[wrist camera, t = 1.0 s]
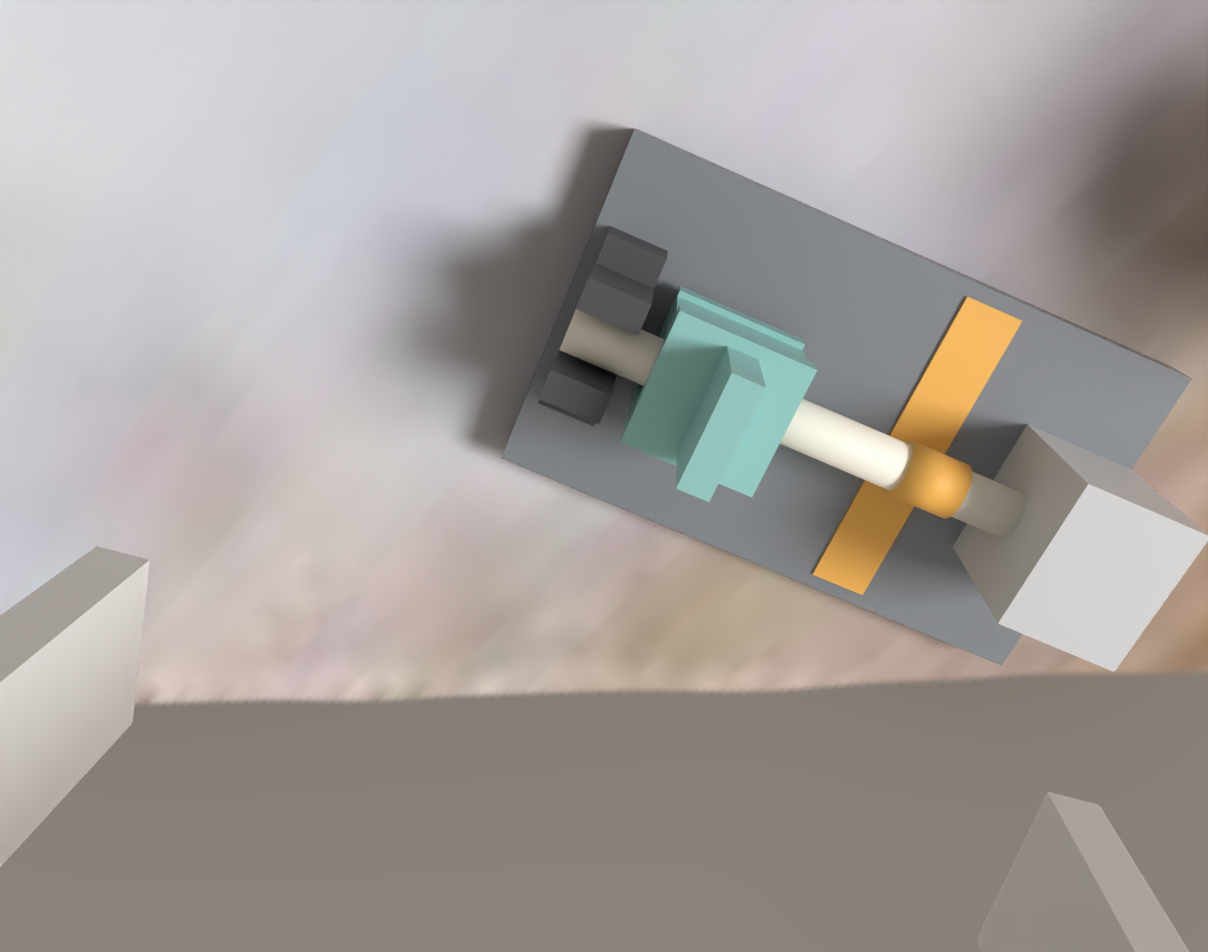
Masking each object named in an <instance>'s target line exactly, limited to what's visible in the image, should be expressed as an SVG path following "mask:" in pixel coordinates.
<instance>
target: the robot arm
mask: <svg viewBox="0 0 1208 952" xmlns="http://www.w3.org/2000/svg"><path fill="white" fill-rule="evenodd" d="M149 562H150V560H148V559H144V558H140V557H136V556H132V555H128V554H124V553H120V552H117V551H113V550H109V549H105V548H101V547H97V546H96V547H95V548H94V549H92V550H91V551H90V552H88V553H87V554H85V555H84V556H83V557H81V558H80V559H78V560H77V561H76V562H74V563H73V564H71V565H70V566H69V567H67V568H66V569H65V570H63V571H62V572H60V573H59V574H58V575H56V576H55V577H53V578H52V579H51V580H49V581H48V582H46V583H45V584H44V585H42V586H41V587H40V588H38V589H37V590H35V591H34V592H33V593H31V594H30V595H28V596H27V597H26V598H24V599H23V600H22V601H20V602H19V603H17V604H16V605H15V606H13V607H12V608H10V609H9V610H8V611H6V612H5V613H3V614H2V615H1V616H0V867H1V866H2V864H3V863H4V862H5V861H6V860H7V859H8V858H9V857H10V856H11V854H12V853H13V852H14V851H15V850H16V849H17V848H18V847H19V846H20V845H21V844H22V843H23V841H24V840H25V839H26V838H27V837H28V836H29V835H30V834H31V833H32V832H33V831H34V829H35V828H36V827H37V826H38V825H39V824H40V823H41V822H42V821H43V820H44V819H45V818H46V816H47V815H48V814H49V813H50V812H51V811H52V810H53V809H54V808H55V806H57V804H58V803H59V802H60V801H61V800H62V799H63V798H64V797H65V796H66V795H67V794H68V793H69V791H70V790H71V789H72V788H73V787H74V786H75V785H76V784H77V783H78V782H79V781H80V779H81V778H82V777H83V776H84V775H85V774H86V773H87V772H88V771H89V770H90V769H91V767H92V766H93V765H94V764H95V763H96V762H97V761H98V760H99V759H100V758H101V757H102V755H103V754H104V753H105V752H106V751H107V750H108V749H109V748H110V747H111V746H112V744H114V742H115V741H116V740H117V739H118V738H119V737H120V736H121V734H123V733H124V731H125V730H126V729H127V728H128V727H129V726H130V725H131V724H132V722H133V712H134V703H135V694H136V684H137V675H138V665H139V656H140V647H141V637H142V628H143V618H144V609H145V600H146V590H147V581H148V571H149ZM977 941H978V943H979V946H980V949H981V952H1189V951H1188V949H1187V948H1186V946H1185V944H1184V943H1183V941H1182V939H1181V938H1180V936H1179V934H1178V933H1177V931H1176V930H1175V928H1174V926H1173V925H1172V923H1171V921H1170V920H1169V918H1168V917H1167V915H1166V913H1165V912H1164V910H1163V909H1162V907H1161V905H1160V903H1159V902H1158V900H1157V899H1156V897H1155V895H1154V894H1153V892H1152V890H1151V889H1150V887H1149V886H1148V884H1147V882H1146V881H1145V879H1144V878H1143V876H1142V874H1141V872H1140V871H1139V869H1138V868H1137V866H1136V864H1135V863H1134V861H1133V860H1132V858H1131V856H1130V855H1129V853H1128V851H1127V850H1126V848H1125V847H1124V845H1123V843H1122V842H1121V840H1120V838H1119V837H1118V835H1117V833H1116V832H1115V830H1114V829H1113V827H1112V825H1111V824H1110V822H1109V820H1108V819H1107V817H1106V815H1105V814H1104V812H1103V811H1102V809H1101V807H1100V806H1099V805H1097V804H1093V803H1089V802H1085V801H1082V800H1077V799H1074V798H1069V797H1066V796H1062V795H1058V794H1054V793H1051V792H1047V794H1046V796H1045V798H1044V800H1043V802H1042V804H1041V806H1040V808H1039V811H1038V812H1037V815H1036V817H1035V819H1034V821H1033V823H1032V825H1031V827H1030V829H1029V831H1028V833H1027V836H1026V837H1025V840H1024V842H1023V844H1022V846H1021V848H1020V850H1019V852H1018V854H1017V856H1016V859H1015V860H1014V863H1013V865H1012V867H1011V869H1010V871H1009V873H1008V875H1007V877H1006V879H1005V881H1004V883H1003V886H1002V888H1001V890H1000V892H999V894H998V896H997V898H996V900H995V902H994V904H993V906H992V909H991V911H990V913H989V915H988V917H987V919H986V921H985V923H984V926H983V927H982V929H981V931H980V934H979V936H978V938H977Z"/></svg>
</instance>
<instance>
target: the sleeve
mask: <svg viewBox="0 0 1208 952" xmlns="http://www.w3.org/2000/svg"><path fill="white" fill-rule="evenodd" d="M658 337H660V338H663V339H664V341H663V344H662V346H661V348H660V350H659V353H658V355H657V357H656V359H655V361H654V364H653V366H652V368H651V370H650V373H649V375H648V377H647V379H646V382H645V384H644V386H643V385H640V384H638V383H637V384H636V386H635V388H634V390H633V393H632V395H631V397H630V399H629V402H628V404H627V409H626V412H627V417H626V422H625V428H624V430H623V433H622V436H621V443H623V444H626V445H628V446H630V447H633V448H635V449H637V450H640V451H642V452H645V453H647V454H649V455H652V456H654V457H656V458H659V459H661V460H664V461H666V462H668V463H671V464H673V465H676V466H677V472H676V489H678V490H681V491H683V492H686V493H688V494H690V495H693V496H695V497H698V498H700V499H702V500H705V501H707V502H710V500H711V498H712V496H713V494H714V492H715V490H716V488H717V486H718V484H721V485H723V486H726V487H728V488H730V489H733V490H735V491H737V492H740V493H742V494H745V495H747V496H749V497H752V496H753V495H754V493H755V491H756V489H757V487H758V485H759V483H760V481H761V479H762V477H763V475H764V473H765V471H766V469H767V467H768V465H769V463H770V461H771V460H772V458H773V456H774V454H775V452H776V450H777V448H778V446H779V444H780V442H781V440H782V438H783V436H784V434H785V432H786V430H787V428H788V426H789V425H790V423H791V421H792V419H793V417H794V415H795V413H796V411H797V409H798V407H799V405H800V403H801V401H802V399H803V397H804V395H805V393H806V391H807V390H808V388H809V386H810V384H811V382H812V380H813V378H814V376H815V374H816V372H817V368H816V366H815V364H814V363H812V362H810V361H807V359H806V357H805V355H804V353H803V348H804V346H805V343H804V341H803V339H801V338H799V337H797V336H794V335H792V334H790V333H787V332H785V331H783V330H781V329H778V328H776V327H774V326H771V325H769V324H767V323H764V322H762V321H760V320H758V319H755V318H753V317H751V316H748V315H746V314H744V313H741V312H739V311H737V310H734V309H732V308H730V307H728V306H725V305H723V304H721V303H718V302H716V301H714V300H711V299H709V298H707V297H705V296H702V295H700V294H698V293H695V292H693V291H691V290H688V289H686V288H684V287H682V286H680V287H679V290H678V292H677V294H676V296H675V299H674V301H673V303H672V305H671V307H670V310H669V312H668V314H667V316H666V319H665V321H664V323H663V325H662V328H661V330H660V332H659V334H658Z"/></svg>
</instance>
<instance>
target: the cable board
mask: <svg viewBox="0 0 1208 952" xmlns="http://www.w3.org/2000/svg"><path fill="white" fill-rule="evenodd" d="M680 286H682V287H684V288H686V289H688V290H691V291H693V292H695V293H698V294H700V295H702V296H705V297H707V298H709V299H711V300H714V301H716V302H718V303H721V304H723V305H725V306H728V307H730V308H732V309H734V310H737V311H739V312H741V313H744V314H746V315H748V316H751V317H753V318H755V319H758V320H760V321H762V322H764V323H767V324H769V325H771V326H774V327H776V328H778V329H781V330H783V331H785V332H787V333H790V334H792V335H794V336H797V337H799V338H801V339H803V341H804V343H805V346H804V348H803V353H804V355H805V357H806V359H807V361H810V362H812V363H814V364H815V366H816V368H817V372H816V374H815V376H814V378H813V380H812V382H811V384H810V386H809V388H808V390H807V391H806V393H805V395H804V397H803V399H802V401H801V403H800V405H799V407H798V409H797V411H796V413H795V415H794V417H793V419H792V421H791V423H790V425H789V426H788V428H787V430H786V432H785V434H784V436H783V438H782V440H781V442H780V444H779V446H778V448H777V450H776V452H775V454H774V456H773V458H772V460H771V461H770V463H769V465H768V467H767V469H766V471H765V473H764V475H763V477H762V479H761V481H760V483H759V485H758V487H757V489H756V491H755V493H754V495H753V496H752V497H749V496H747V495H745V494H742V493H740V492H737V491H735V490H733V489H730V488H728V487H726V486H723V485H721V484H718V486H717V488H716V490H715V492H714V494H713V496H712V498H711V500H710V502H707V501H705V500H702V499H700V498H698V497H695V496H693V495H690V494H688V493H686V492H683V491H681V490H678V489H676V472H677V466H676V465H673V464H671V463H668V462H666V461H664V460H661V459H659V458H656V457H654V456H652V455H649V454H647V453H645V452H642V451H640V450H637V449H635V448H633V447H630V446H628V445H626V444H623V443H621V436H622V433H623V430H624V428H625V422H626V417H627V412H626V409H627V404H628V402H629V399H630V397H631V395H632V393H633V390H634V388H635V386H636V384H637V383H638V384H640V385H643V386H644V384H645V382H646V379H647V377H648V375H649V373H650V370H651V368H652V366H653V364H654V361H655V359H656V357H657V355H658V353H659V350H660V348H661V346H662V344H663V341H664V339H663V338H660V337H658V334H659V332H660V330H661V328H662V325H663V323H664V321H665V319H666V316H667V314H668V312H669V310H670V307H671V305H672V303H673V301H674V299H675V296H676V294H677V292H678V290H679V287H680ZM1191 379H1192V378H1190V377H1188V376H1186V375H1185V374H1183V373H1181V372H1179V371H1178V370H1176V369H1174V368H1172V367H1170V366H1168V365H1166V364H1164V363H1161V362H1159V361H1157V360H1155V359H1152V358H1150V357H1148V356H1146V355H1143V354H1141V353H1139V352H1137V351H1134V350H1132V349H1130V348H1128V347H1125V346H1123V345H1121V344H1119V343H1116V342H1114V341H1112V340H1110V339H1107V338H1105V337H1103V336H1101V335H1098V334H1096V333H1094V332H1092V331H1089V330H1087V329H1085V328H1083V327H1080V326H1078V325H1076V324H1074V323H1071V322H1069V321H1067V320H1065V319H1062V318H1060V317H1058V316H1056V315H1053V314H1051V313H1049V312H1047V311H1044V310H1042V309H1040V308H1038V307H1035V306H1033V305H1031V304H1029V303H1026V302H1024V301H1022V300H1020V299H1017V298H1015V297H1013V296H1011V295H1008V294H1006V293H1004V292H1002V291H1000V290H997V289H995V288H993V287H991V286H988V285H986V284H984V283H982V282H979V281H977V280H975V279H973V278H970V277H968V276H966V275H964V274H961V273H959V272H957V271H955V270H952V269H950V268H948V267H946V266H943V265H941V264H939V263H937V262H934V261H932V260H930V259H928V258H925V257H923V256H921V255H919V254H916V253H914V252H912V251H910V250H907V249H905V248H903V247H901V246H898V245H896V244H894V243H892V242H889V241H887V240H885V239H883V238H880V237H878V236H876V235H874V234H871V233H869V232H867V231H865V230H862V229H860V228H858V227H856V226H853V225H851V224H849V223H847V222H844V221H842V220H840V219H838V218H835V217H833V216H831V215H829V214H826V213H824V212H822V211H820V210H817V209H815V208H813V207H811V206H808V205H806V204H804V203H802V202H799V201H797V200H795V199H793V198H790V197H788V196H786V195H784V194H781V193H779V192H777V191H775V190H772V189H770V188H768V187H766V186H763V185H761V184H759V183H757V182H754V181H752V180H750V179H748V178H745V177H743V176H741V175H739V174H736V173H734V172H732V171H730V170H727V169H725V168H723V167H721V166H718V165H716V164H714V163H712V162H709V161H707V160H705V159H703V158H700V157H698V156H696V155H694V154H691V153H689V152H687V151H685V150H683V149H680V148H678V147H676V146H674V145H671V144H669V143H667V142H665V141H662V140H660V139H658V138H656V137H653V136H651V135H649V134H647V133H644V132H642V131H640V130H638V129H635V130H634V131H633V133H632V136H631V138H630V141H629V143H628V146H627V148H626V151H625V153H624V156H623V158H622V161H621V163H620V166H619V168H618V171H617V173H616V175H615V178H614V180H613V183H612V185H611V188H610V190H609V193H608V195H607V198H606V200H605V203H604V205H603V208H602V210H601V213H600V215H599V217H598V220H597V222H596V225H595V227H594V230H593V232H592V235H591V237H590V240H589V242H588V245H587V247H586V250H585V252H584V255H583V257H582V259H581V262H580V264H579V267H578V269H577V272H576V274H575V277H574V279H573V282H572V284H571V287H570V289H569V292H568V294H567V297H566V299H565V301H564V304H563V306H562V309H561V311H560V314H559V316H558V319H557V321H556V324H555V326H554V329H553V331H552V334H551V336H550V339H549V341H548V343H547V346H546V348H545V351H544V353H543V356H542V358H541V361H540V363H539V366H538V368H537V371H536V373H535V376H534V378H533V381H532V383H531V385H530V388H529V390H528V393H527V395H526V398H525V400H524V403H523V405H522V408H521V410H520V413H519V415H518V418H517V420H516V423H515V425H514V427H513V430H512V432H511V435H510V437H509V440H508V442H507V445H506V447H505V450H504V452H503V455H502V457H501V458H502V459H505V460H507V461H509V462H512V463H514V464H517V465H519V466H521V467H524V468H526V469H529V470H531V471H534V472H536V473H538V474H541V475H543V476H546V477H548V478H550V479H553V480H555V481H558V482H560V483H562V484H565V485H567V486H570V487H572V488H575V489H577V490H579V491H582V492H584V493H587V494H589V495H591V496H594V497H596V498H599V499H601V500H603V501H606V502H608V503H611V504H613V505H616V506H618V507H620V508H623V509H625V510H628V511H630V512H632V513H635V514H637V515H640V516H642V517H644V518H647V519H649V520H652V521H654V522H657V523H659V524H661V525H664V526H666V527H669V528H671V529H673V530H676V531H678V532H681V533H683V534H685V535H688V536H690V537H693V538H695V539H698V540H700V541H702V542H705V543H707V544H710V545H712V546H714V547H717V548H719V549H722V550H724V551H726V552H729V553H731V554H734V555H736V556H738V557H741V558H743V559H746V560H748V561H751V562H753V563H755V564H758V565H760V566H763V567H765V568H767V569H770V570H772V571H775V572H777V573H779V574H782V575H784V576H787V577H789V578H792V579H794V580H796V581H799V582H801V583H804V584H806V585H808V586H811V587H813V588H816V589H818V590H820V591H823V592H825V593H828V594H830V595H833V596H835V597H837V598H840V599H842V600H845V601H847V602H849V603H852V604H854V605H857V606H859V607H861V608H864V609H866V610H869V611H871V612H874V613H876V614H878V615H881V616H883V617H886V618H888V619H890V620H893V621H895V622H898V623H900V624H902V625H905V626H907V627H910V628H912V629H915V630H917V631H919V632H922V633H924V634H927V635H929V636H931V637H934V638H936V639H939V640H941V641H943V642H946V643H948V644H951V645H953V646H956V647H958V648H960V649H963V650H965V651H968V652H970V653H972V654H975V655H977V656H980V657H982V658H984V659H987V660H989V661H992V662H994V663H997V664H999V665H1001V666H1002V664H1003V663H1004V661H1005V660H1006V658H1007V657H1008V655H1009V654H1010V652H1011V651H1012V649H1013V648H1014V646H1015V645H1016V643H1017V642H1018V640H1019V639H1020V637H1021V636H1022V634H1024V635H1027V636H1029V637H1031V638H1034V639H1036V640H1039V641H1041V642H1043V643H1046V644H1048V645H1051V646H1053V647H1055V648H1058V649H1060V650H1063V651H1065V652H1067V653H1070V654H1072V655H1074V656H1077V657H1079V658H1082V659H1084V660H1086V661H1089V662H1091V663H1094V664H1096V665H1098V666H1101V667H1103V668H1106V669H1108V670H1110V671H1113V672H1114V671H1115V670H1116V669H1117V667H1118V666H1119V664H1120V663H1121V662H1122V660H1123V659H1124V657H1125V656H1126V655H1127V653H1128V652H1129V650H1130V649H1131V648H1132V646H1133V645H1134V643H1135V642H1136V641H1137V639H1138V638H1139V636H1140V635H1141V634H1142V632H1143V631H1144V629H1145V628H1146V627H1147V625H1148V624H1149V622H1150V621H1151V620H1152V618H1153V617H1154V615H1155V614H1156V613H1157V611H1158V610H1159V608H1160V607H1161V606H1162V604H1163V603H1164V601H1165V600H1166V599H1167V597H1168V596H1169V594H1170V593H1171V592H1172V590H1173V589H1174V587H1175V586H1176V585H1177V583H1178V582H1179V580H1180V579H1181V578H1182V576H1183V575H1184V573H1185V572H1186V571H1187V569H1188V568H1189V566H1190V565H1191V564H1192V562H1193V561H1194V559H1195V558H1196V557H1197V555H1198V554H1199V552H1200V551H1201V550H1202V548H1203V547H1204V545H1205V544H1206V543H1207V541H1208V534H1207V533H1206V532H1205V531H1203V530H1202V529H1201V528H1200V527H1199V526H1198V525H1196V524H1195V523H1194V522H1193V521H1192V520H1190V519H1189V518H1188V517H1187V516H1186V515H1185V514H1183V513H1182V512H1181V511H1180V510H1179V509H1177V508H1176V507H1175V506H1174V505H1173V504H1172V503H1170V502H1169V501H1168V500H1167V499H1166V498H1165V497H1163V496H1162V495H1161V494H1160V493H1159V492H1157V491H1156V490H1155V489H1154V488H1153V487H1152V486H1150V485H1149V484H1148V483H1147V482H1146V481H1145V480H1143V479H1142V478H1141V477H1140V476H1139V475H1137V474H1136V473H1135V472H1134V471H1133V470H1132V468H1133V467H1134V465H1135V464H1136V462H1137V461H1138V459H1139V458H1140V456H1141V455H1142V453H1143V452H1144V450H1145V449H1146V447H1147V446H1148V444H1149V443H1150V441H1151V440H1152V438H1153V437H1154V435H1155V434H1156V432H1157V430H1158V429H1159V427H1160V426H1161V424H1162V423H1163V421H1164V420H1165V418H1166V417H1167V415H1168V414H1169V412H1170V411H1171V409H1172V408H1173V406H1174V405H1175V403H1176V402H1177V400H1178V399H1179V397H1180V396H1181V394H1182V393H1183V391H1184V390H1185V388H1186V387H1187V385H1188V384H1189V382H1190V381H1191Z"/></svg>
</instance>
